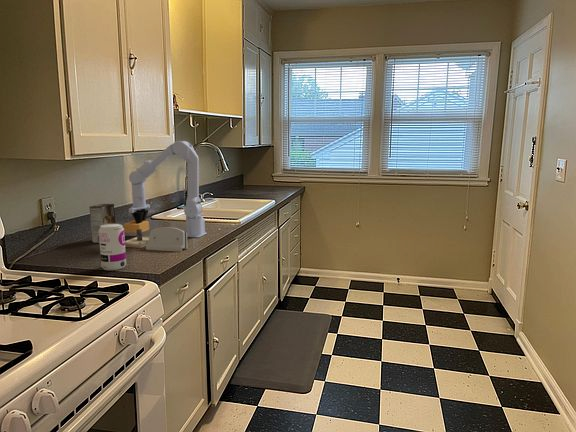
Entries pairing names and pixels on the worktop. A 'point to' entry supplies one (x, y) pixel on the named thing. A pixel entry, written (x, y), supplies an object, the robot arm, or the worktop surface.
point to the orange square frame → (136, 226)
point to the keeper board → (137, 240)
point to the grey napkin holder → (167, 239)
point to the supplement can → (112, 246)
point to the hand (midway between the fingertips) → (140, 225)
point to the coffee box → (101, 218)
